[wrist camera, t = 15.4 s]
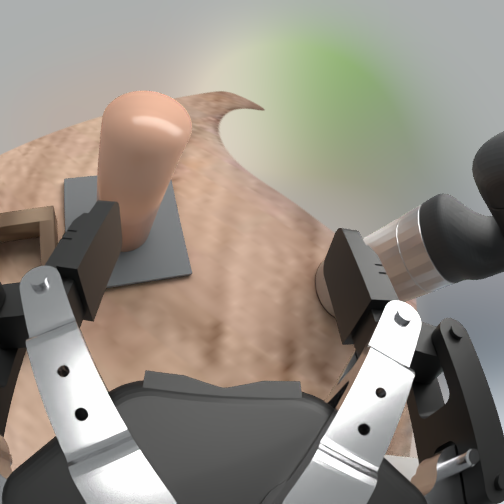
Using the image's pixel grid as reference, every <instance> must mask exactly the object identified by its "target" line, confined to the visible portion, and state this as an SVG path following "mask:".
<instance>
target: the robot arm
mask: <svg viewBox="0 0 504 504" xmlns="http://www.w3.org/2000/svg"><path fill="white" fill-rule="evenodd" d="M472 171H473V177H474V180H475V182H476V185H477V187H478V189H479V192H480V194H481V196H482V198H483V200H484V201H485V203H486V204H487V206H488V208H489V210H490V212H491V213H492V215H493V216H484V215H481V214H479V213H476V212H474V211H473V210H471V209H469V208H468V207H466V206H465V205H464V204H462V203H461V202H460V201H458V200H457V199H456V198H454V197H453V196H451V195H449V194H438V195H436V196H434V197H432V198H431V199H429V200H427V201H426V202H424V203H423V204H421V205H419V206H417V207H416V208H414V209H412V210H411V211H409V212H407V213H406V214H404V215H403V216H401V217H399V218H397V219H396V220H394V221H392V222H391V223H389V224H387V225H385V226H384V227H382V228H380V229H379V230H377V231H375V232H373V233H372V234H370V235H368V236H366V237H365V238H362V236H361V234H360V233H359V231H356V230H350V229H343V228H339V229H338V230H337V231H336V233H335V235H334V238H333V240H332V243H331V245H330V248H329V250H328V253H327V255H326V258H325V260H324V261H323V262H322V263H321V264H320V266H319V267H318V270H317V273H316V289H317V294H318V296H319V299H320V301H321V303H322V305H323V306H324V308H325V309H326V310H327V311H328V312H329V313H330V314H331V315H333V316H334V317H335V318H336V321H337V325H338V329H339V333H340V337H341V341H342V345H348V344H354V346H355V351H354V352H353V353H352V355H351V357H350V359H349V360H348V362H347V364H346V366H345V368H344V369H343V371H342V373H341V375H340V377H339V378H338V380H337V382H336V384H335V385H334V387H333V389H332V390H331V392H330V393H329V395H328V396H327V397H326V399H325V400H324V401H323V400H321V399H319V398H317V397H315V396H313V395H310V394H307V393H304V392H301V385H300V381H261V382H256V383H250V384H245V385H240V386H234V387H228V388H222V387H218V386H215V385H211V384H208V383H205V382H202V381H199V380H196V379H193V378H190V377H187V376H184V375H177V374H169V373H161V372H154V371H147V370H146V371H145V377H144V381H136V382H131V383H128V384H125V385H122V386H119V387H117V388H115V389H113V390H111V391H110V392H109V391H108V389H107V387H106V385H105V383H104V381H103V379H102V377H101V375H100V373H99V371H98V369H97V367H96V365H95V362H94V360H93V358H92V356H91V354H90V351H89V349H88V347H87V344H86V342H85V340H84V337H83V335H82V332H81V330H80V326H81V323H82V320H88V321H93V322H94V319H95V316H96V313H97V310H98V308H99V305H100V302H101V300H102V297H103V294H104V292H105V289H106V287H107V284H108V281H109V279H110V276H111V274H112V272H113V269H114V267H115V264H116V262H117V259H118V257H119V255H120V252H121V248H122V229H121V219H120V207H119V203H118V202H115V201H102V200H98V201H97V202H96V203H95V205H94V206H93V208H92V209H91V211H90V212H89V213H83V214H82V215H80V216H79V217H77V218H76V219H75V220H73V222H72V223H71V225H70V226H69V228H68V229H67V232H65V234H64V235H63V237H62V239H61V240H60V241H59V243H58V244H57V246H56V248H55V249H54V251H53V252H52V254H51V256H50V257H49V259H48V261H47V262H46V264H45V266H39V267H36V268H34V269H32V270H30V271H29V272H27V273H26V274H25V275H24V277H23V278H22V280H21V282H20V283H12V284H4V285H2V284H1V282H0V504H498V503H501V502H503V501H504V435H503V431H502V427H501V423H500V420H499V416H498V413H497V410H496V407H495V404H494V400H493V397H492V394H491V392H490V388H489V386H488V383H487V380H486V377H485V374H484V372H483V369H482V367H481V364H480V361H479V359H478V356H477V354H476V351H475V349H474V346H473V344H472V342H471V339H470V337H469V335H468V333H467V331H466V329H465V328H464V327H463V325H461V324H460V323H459V322H458V321H456V320H454V319H452V318H446V319H443V320H442V321H441V322H440V324H439V325H438V326H437V327H436V326H433V325H429V324H426V323H424V322H421V319H420V317H419V315H418V313H417V312H416V311H415V310H414V309H413V308H412V307H411V306H410V305H408V304H407V303H404V302H406V301H409V300H411V299H414V298H417V297H420V296H423V295H425V294H428V293H431V292H434V291H436V290H439V289H441V288H444V287H447V286H449V285H452V284H455V283H457V282H460V281H462V280H467V279H470V280H478V279H484V278H487V277H490V276H493V275H495V274H498V273H501V272H504V132H501V133H499V134H497V135H496V136H494V137H493V138H491V139H490V140H488V141H487V142H486V143H485V144H483V146H482V147H481V148H480V149H479V150H478V152H477V154H476V155H475V158H474V161H473V167H472ZM26 349H27V351H28V355H29V359H30V363H31V366H32V370H33V373H34V377H35V380H36V383H37V386H38V389H39V392H40V395H41V398H42V401H43V404H44V407H45V409H46V412H47V415H48V417H49V420H50V422H51V425H52V427H53V430H54V432H55V434H56V436H55V437H54V438H53V439H52V440H51V441H49V442H48V443H47V444H46V445H45V446H43V447H42V448H41V449H40V450H39V451H37V452H36V453H35V454H34V455H32V456H31V457H30V458H29V459H28V460H26V461H25V462H24V463H23V464H22V465H20V466H19V467H18V468H17V469H15V470H14V471H13V472H12V470H11V464H12V457H11V455H10V452H9V447H8V445H7V442H6V441H5V439H4V432H5V427H6V422H7V418H8V413H9V409H10V404H11V400H12V396H13V392H14V389H15V385H16V381H17V378H18V374H19V371H20V368H21V365H22V361H23V358H24V355H25V352H26ZM442 372H444V375H445V378H446V381H447V384H448V388H449V393H450V395H449V399H448V402H447V403H446V404H444V400H443V396H442V393H441V389H440V386H439V383H438V380H437V377H438V376H439V375H440V374H441V373H442ZM406 401H407V405H408V410H409V414H410V419H411V423H412V428H413V433H414V438H415V443H416V449H417V455H418V461H419V466H418V468H417V470H416V475H414V476H413V477H412V478H411V482H410V481H409V480H408V479H407V478H406V477H405V476H404V475H403V474H402V473H400V472H399V471H398V470H397V469H396V468H395V467H394V466H393V465H392V464H391V463H390V462H389V461H388V460H387V459H385V458H384V455H385V453H386V451H387V449H388V446H389V444H390V442H391V439H392V437H393V435H394V432H395V430H396V427H397V425H398V422H399V419H400V417H401V414H402V411H403V409H404V406H405V403H406Z"/></svg>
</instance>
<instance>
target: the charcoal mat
mask: <svg viewBox="0 0 504 504" xmlns="http://www.w3.org/2000/svg"><path fill="white" fill-rule="evenodd" d="M96 202H97V176H88V177H78V178H68V179H64V205H65V230H66V232H67V229H68V228H69V226H70V225H71V223H72V222H73V220H75V219H76V218H77V217H79V216H80V215H82V214H83V213H89V212H90V211H91V209H92V208H93V206H94V205H95V203H96ZM191 274H192V270H191V266H190V262H189V258H188V253H187V249H186V245H185V241H184V236H183V232H182V228H181V223H180V219H179V214H178V209H177V205H176V200H175V195H174V191H173V186H172V181H171V180H170V183H169V185H168V187H167V190H166V192H165V195H164V197H163V200H162V202H161V205H160V207H159V210H158V212H157V215H156V217H155V220H154V223H153V225H152V228H151V230H150V233H149V236H148V238H147V240H146V241H145V242H144V244H143V245H141V246H140V247H139V248H137V249H135V250H132V251H129V252H120V255H119V257H118V259H117V262H116V264H115V267H114V269H113V272H112V274H111V276H110V279H109V281H108V284H107V287H106V288H110V287H117V286H123V285H130V284H136V283H143V282H149V281H155V280H162V279H168V278H174V277H181V276H187V275H191Z"/></svg>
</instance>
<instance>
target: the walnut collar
mask: <svg viewBox="0 0 504 504" xmlns="http://www.w3.org/2000/svg"><path fill="white" fill-rule="evenodd" d="M34 237H40V252H41V266H45V264H46V262H47V261H48V259H49V257H50V256H51V254H52V252H53V251H54V249H55V248H56V246H57V244H58V234H57V220H56V215H55V211H54V207H53V206H47V207H40V208H32V209H25V210H19V211H12V212H6V213H0V243H1V242H7V241H14V240H21V239H27V238H34Z"/></svg>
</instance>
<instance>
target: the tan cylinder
mask: <svg viewBox="0 0 504 504" xmlns="http://www.w3.org/2000/svg"><path fill="white" fill-rule="evenodd" d="M191 132H192V122H191V119H190V116H189V114H188V112H187V111H186V109H185V108H184V107H183V106H182V105H181V104H180V103H179V102H177V101H176V100H174V99H173V98H171V97H169V96H167V95H164V94H161V93H158V92H152V91H134V92H129V93H126V94H123V95H121V96H119V97H117V98H116V99H114V100H113V101H112V102H111V103H110V104H109V105H108V106H107V108H106V109H105V111H104V114H103V117H102V125H101V135H100V145H99V158H98V175H97V201H98V200H102V201H115V202H118V203H119V207H120V219H121V229H122V248H121V252H129V251H132V250H135V249H137V248H139V247H140V246H141V245H143V244H144V242H145V241H146V240H147V238H148V236H149V233H150V230H151V228H152V225H153V223H154V220H155V217H156V215H157V212H158V210H159V207H160V205H161V202H162V200H163V197H164V195H165V192H166V190H167V187H168V185H169V183H170V180H171V178H172V176H173V173H174V171H175V169H176V166H177V164H178V162H179V160H180V157H181V155H182V153H183V151H184V149H185V146H186V144H187V142H188V140H189V138H190V135H191Z"/></svg>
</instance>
